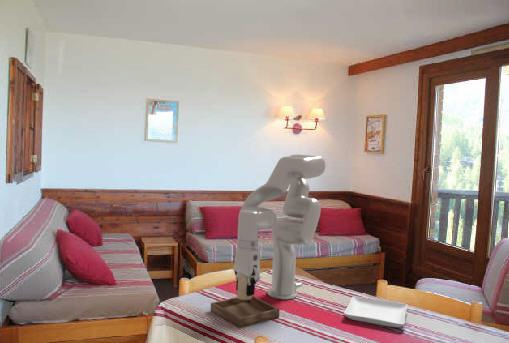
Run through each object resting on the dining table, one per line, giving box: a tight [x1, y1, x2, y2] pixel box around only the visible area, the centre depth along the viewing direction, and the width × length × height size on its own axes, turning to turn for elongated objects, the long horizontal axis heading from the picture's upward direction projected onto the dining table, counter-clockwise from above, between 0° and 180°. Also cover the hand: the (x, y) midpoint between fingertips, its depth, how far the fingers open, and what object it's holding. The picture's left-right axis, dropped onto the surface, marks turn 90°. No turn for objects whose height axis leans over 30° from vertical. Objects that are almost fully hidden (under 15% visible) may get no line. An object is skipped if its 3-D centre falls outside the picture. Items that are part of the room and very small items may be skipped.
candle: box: [236, 273, 253, 300], centre depth 165 cm, size 6×6×10 cm
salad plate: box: [343, 295, 409, 328], centre depth 170 cm, size 21×21×3 cm
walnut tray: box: [210, 295, 280, 329], centre depth 166 cm, size 18×18×3 cm
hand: (245, 292), depth 165 cm, fingers closed on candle, 5 cm apart
